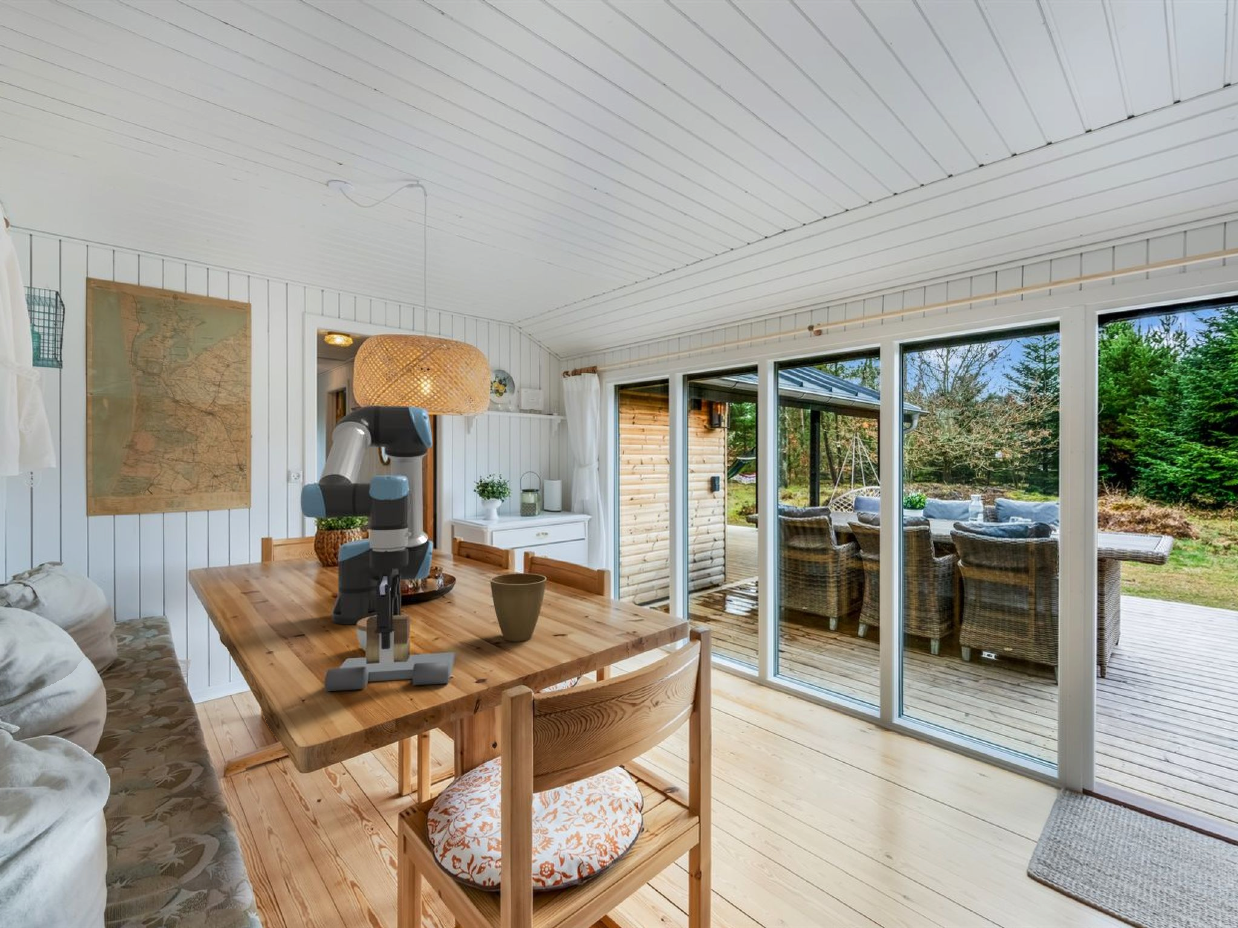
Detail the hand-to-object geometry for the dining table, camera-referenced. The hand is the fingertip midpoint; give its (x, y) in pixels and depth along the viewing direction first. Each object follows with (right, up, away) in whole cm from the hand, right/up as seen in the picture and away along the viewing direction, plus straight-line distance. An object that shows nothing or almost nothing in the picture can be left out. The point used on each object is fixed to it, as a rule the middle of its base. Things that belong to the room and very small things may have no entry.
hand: (389, 658), depth 118 cm
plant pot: (+21, -6, +33) cm, 39 cm away
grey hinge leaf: (-1, -6, +5) cm, 8 cm away
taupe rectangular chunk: (0, 0, 0) cm, 0 cm away
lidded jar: (-11, -6, +22) cm, 25 cm away
